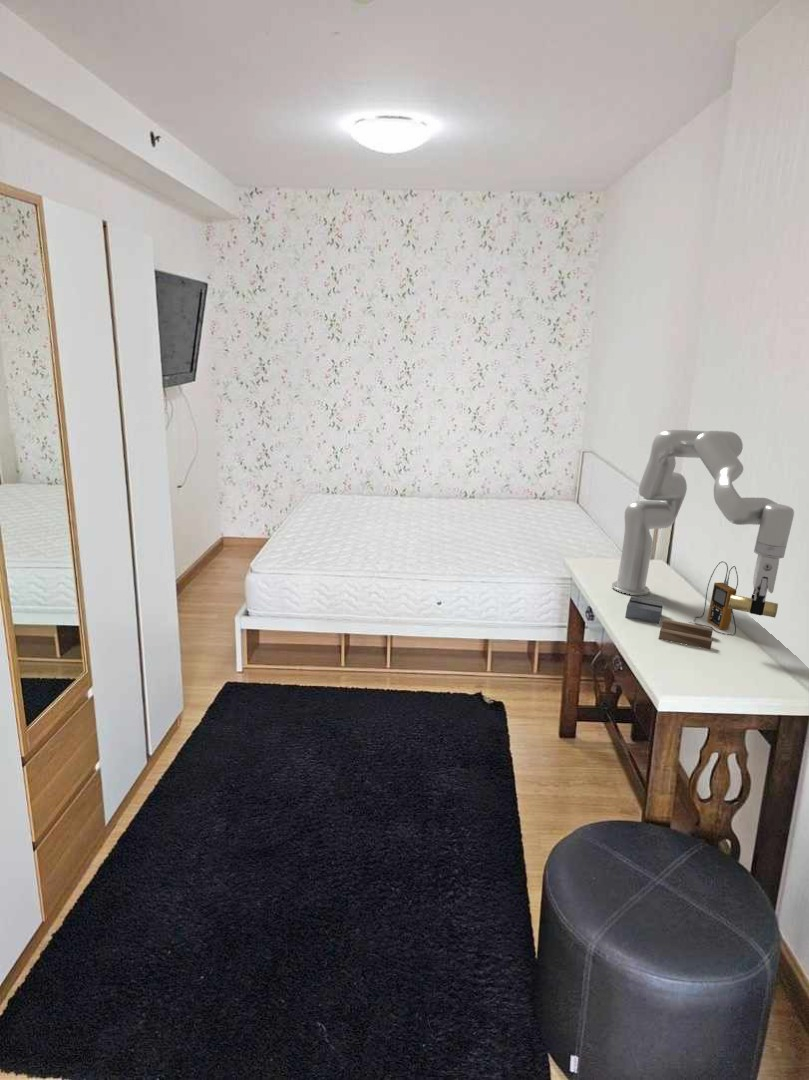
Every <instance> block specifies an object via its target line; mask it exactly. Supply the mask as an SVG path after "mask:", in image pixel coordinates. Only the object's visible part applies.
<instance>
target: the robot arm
mask: <svg viewBox="0 0 809 1080" xmlns="http://www.w3.org/2000/svg"><path fill="white" fill-rule="evenodd" d="M743 445H744V444H743V441H742V438H741V436H740V435H738V434H737V433H736V432H733V431H726V430H725V431H724V430H688V429H667V430H661V431H660V432H658V434H657V435H656V436H654V439H653V441H652V444H651V451H650V455H649V459H648V462H647V464H646V467H645V470H644V471H643V475H642V477H641V480H640V483H639V486H638V493H639V496H640V497H641V498H642V499H644V500H637V501H634V502H631V503H629V504H628V505H627V507H626V508H625V510H624V535H623V542H622V549H621V555H620V561H619V567H618V568H619V569H618V573H617V581H614V582H612V583H611V588H612V587H613V588H614V589H615V590H614V589H613V588H612V589H613V590H614V591H616V590H617V591H616V592H618V591H619V592H618V593H621V592H622V594H624V593H626V594H625V595H629V594H630V596H647V595H649V593H650V588H649V587H648V586H646V584H647V579H648V573H649V568H650V567H649V566H650V561H651V556H652V549H653V538H652V535H651V533H650V530H654V529H655V530H657V529H659V530H660V529H666V528H667V529H668V528H670V527H671V526H672V525H673V524H674V522H675V521H676V520H677V517H678V514H679V511H680V509H681V507H682V504H683V502H684V500H685V496H686V494H687V491H688V490H687V489H688V488H687V487H688V486H687V484H688V483H687V481H686V478H685V477H684V475H682V474H681V473H679V472H677V471H676V472H675V471H674V470H675V468H676V463H677V461H676V457H677V458H695V459H697V458H698V459H700V461H701V462H702V463H703V465H704V466H705V467H706V469H707V471H708V473H710V476H712V478H713V480H714V485H713V499H714V502H715V504H716V506H717V507H718V509H719V510H720V512H721V514H722V515H723V516H724V517H725V519H726V520H727V521H729V523H732V524H734V525H740V526H741V525H743V526H744V525H753V526H754V525H756V526H757V525H758V527H759V528H758V532H757V536H756V541H755V545H754V549H753V553H755V554H757V558H756V561H755V565H754V573H753V581H752V584H753V585H752V586H753V592H752V594H751V597H750V598H752V599H753V600H752V604H751V608H750V612H749V614H753V615H755V616H763V615H762V614H763V610H764V606H765V601H766V597H767V593H768V592H769V593H770V594H773V593H774V590H775V585H776V580H777V575H778V570H779V564H780V559H784V558H785V555H786V554H785V553H786V549H787V545H788V543H789V538H790V533H791V529H792V525H793V520H794V517H795V511H794V508H793V507H791V506H788V505H786V504H785V505H784V504H781V503H777V502H776V501H773V500H772V499H769V498H766V497H741V496H740V494H739V493H738V492H737V490H736V489H735V487H734V485H733V483H734V482H735V481H736V480H737V479H738V478H740V477H741V475H742V474H743V471H744V465H743V464H742V462H741V461H740V460H739V458H738V457H739V456H741V454H742V451H743V448H744V446H743Z"/></svg>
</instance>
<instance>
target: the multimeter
mask: <svg viewBox="0 0 809 1080" xmlns="http://www.w3.org/2000/svg"><path fill="white" fill-rule="evenodd" d="M722 563H724V564H725V565H726V573H725V577H724V581H723V582H714V583H713V588H712V593H711V599H710V604H709V608H708V609H709V610H708V615H707V620H706V621H707V623H708V624H711V625H712V626H714V627H716V628H717V629H718V630H721V631H722V630H723V631H725V630H724V629H727V630H729V629H730V624H731V620H732V619H731V618H732V617H733V623H734V633H733V634H731V633H730V634H729V633H726V634H727V635H726V636H735V635H736V633H737V626H736V620H735V615H734V611H733V610H734V609H730V608H728V605H729V600H730V596H731V594H732V595H737V588H738V586H739V575H738V571H737V567H736V565H734V566H732V567H731V568H730V569H729V566H728V564H727V562H726V561H720V562H719V563H718V564H717V565H716V567H715V568H714V570H713V572H712V574H711V575H710V578H709V580H708V584H707V587H706V593H705V594H706V595H705V601H704V607H703V609H704V610H703V613H702V615H701V616H700V618H703V616H704V615H705V611H706V605H707V598H708V597H707V596H708V589H709V586H710V582H711V580H712V577H713V575H714V573H715V572H716V570H717V567H718V566H719V565H720V564H722ZM732 569H734V570H735V574H736V587H735V588H733V587H732V586H730V585H729V580H730V573H731V570H732ZM696 618H698V619H699V616H694V618H693V622H690V621H688V624H692V625H697V626H702V627H707V628H712V629H713V631H715V632H717V633H719V634H721V633H722V635H725V633H723V632H720V631H718V630H715V629H714V628H713V627H711V626H709V625H705V624H702V623H698V622H696Z"/></svg>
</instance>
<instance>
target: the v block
mask: <svg viewBox="0 0 809 1080" xmlns="http://www.w3.org/2000/svg"><path fill="white" fill-rule="evenodd" d="M663 608H664V602H663V601H662V602H661V601H656V600H653V599H652V600H651V599H647V598H642V597H635V596H633V595H630V598H629V600H628V603H627V605H626V611H625V619H631V620H636V621H641V622H645V623H651V624H657V625H659V624H660V622H661V617H662V614H663Z"/></svg>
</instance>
